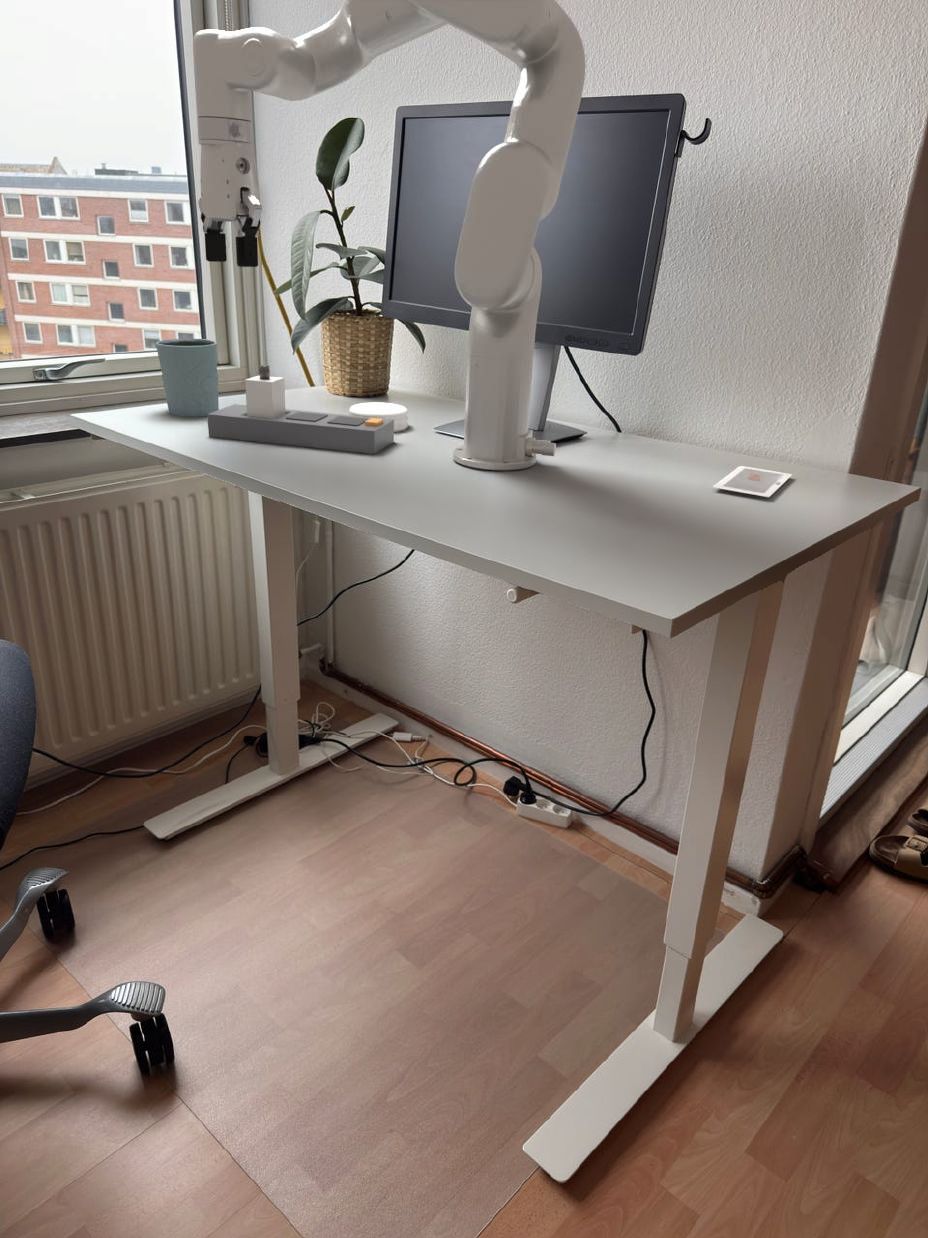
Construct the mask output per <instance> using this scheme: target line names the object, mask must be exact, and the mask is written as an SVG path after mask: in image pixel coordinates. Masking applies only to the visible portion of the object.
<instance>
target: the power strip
mask: <svg viewBox="0 0 928 1238" xmlns="http://www.w3.org/2000/svg"><path fill="white" fill-rule="evenodd" d="M285 410H286V415H283V416H281V417H279V418H276V419H272V418H262V417H253V416H247V404H236V403H234V404H231V405H229V406H225V407H223V408H221V409H220V408H219V410H217V411H215V412H212V413H209V414H207V417H206V418H207V429H208V437H213V438H222V439H223V438H224V439H232V440H240V441H241V440H242V441H248V442H249V441H250V442H259V443H260V442H261V443H267V444H280V445H287V446H296V447H304V448H305V447H306V448H307V447H308V448H316V449H324V450H334V451H343V452H354V453H362V454H370V455H371V454H372V455H373V454H374V455H375V454H377V453H378V452H380V451H382V450H383V449H384V448H386V447H388V446H389V445H390V444H392V443H394V441H395V439H394V438H395V436H394V435H395V434H394V433H395V432H394V420H391V419H381V418H371V417H361V416H351V415H349V414H339V413H329V412H321V411H320V412H318V411H308V410H296V409H289V408H288V409H287V408H285Z"/></svg>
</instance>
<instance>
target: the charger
mask: <svg viewBox="0 0 928 1238" xmlns="http://www.w3.org/2000/svg"><path fill="white" fill-rule="evenodd" d="M270 369H271V368H270V365H268V364H260V365H258V373H259V374H258V375H256V376H252V377H250V378H246V379H244V383H245V398H246V399H245V400H246V401H245V403H246V404H245V405H247V416H253V417H262V418H272V419H276V418H279V417H281V416H283V415H286V410H285V409H286V391H285V389H286V388H285V377H278V376H270V375H271V371H270Z"/></svg>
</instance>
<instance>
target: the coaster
mask: <svg viewBox="0 0 928 1238" xmlns="http://www.w3.org/2000/svg"><path fill="white" fill-rule="evenodd" d="M408 412H409V410H408V409H407V407H405V406H403V405H401V404H399V403H398V404H396V403H391V402H382V401H381V402H377V401H375V402H374V401H373V402H361V403H356V404H353V405H351V406H350V408H349V414H350V415H351V416H361V417H371V418H381V419H391V420H394V433H399V432H401V431H402V432H403V431H404V430H407V428H408V419H409V418H408Z"/></svg>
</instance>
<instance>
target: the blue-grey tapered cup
mask: <svg viewBox="0 0 928 1238" xmlns="http://www.w3.org/2000/svg"><path fill="white" fill-rule="evenodd" d="M155 347H156V351H157V356H158V359H159V363H160V371H161V377H162V382H163V388H164V390H165V391H164V392H165V394H166V395H165V399H166V404H167V409H168V413H169V414H170V415H173V416H177V417H188V418H189V417H191V418H192V417H193V418H196V417H206V416H207V414H209V413H212V412H215V411H217V410H220V405H219V404H220V403H219V374H218V342H217V340H213V339H206V338H175V339H174V338H173V339H172V338H170V339H164V340H162V339H161V340H158V341H156V343H155Z"/></svg>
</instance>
